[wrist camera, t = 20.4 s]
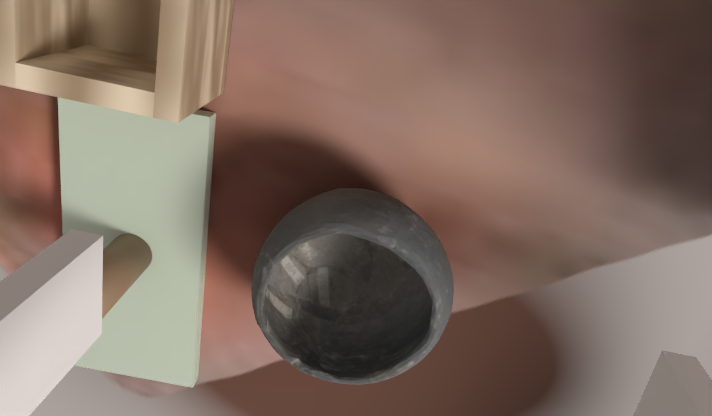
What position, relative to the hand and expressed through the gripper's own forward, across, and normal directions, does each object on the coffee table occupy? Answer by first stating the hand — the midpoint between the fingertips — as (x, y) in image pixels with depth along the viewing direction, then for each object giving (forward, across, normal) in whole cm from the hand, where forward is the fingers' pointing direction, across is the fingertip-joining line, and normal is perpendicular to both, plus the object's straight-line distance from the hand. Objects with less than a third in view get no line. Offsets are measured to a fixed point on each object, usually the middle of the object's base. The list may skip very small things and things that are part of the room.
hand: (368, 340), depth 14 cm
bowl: (+34, +1, +14) cm, 37 cm away
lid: (+34, +20, +18) cm, 43 cm away
